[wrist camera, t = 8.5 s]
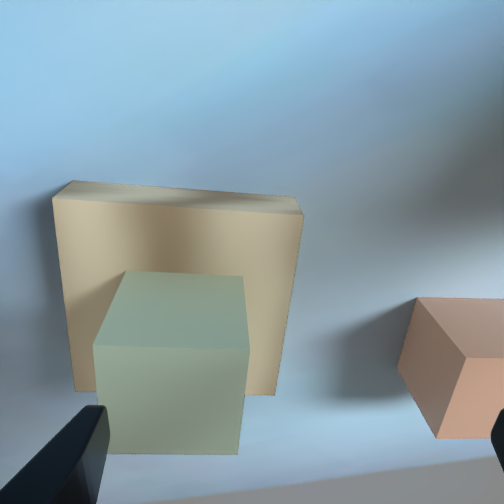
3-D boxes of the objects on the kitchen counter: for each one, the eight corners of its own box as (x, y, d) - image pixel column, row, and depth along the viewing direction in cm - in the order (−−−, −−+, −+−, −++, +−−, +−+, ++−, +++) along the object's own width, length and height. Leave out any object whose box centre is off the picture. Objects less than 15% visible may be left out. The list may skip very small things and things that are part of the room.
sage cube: (242, 276, 18) (250, 350, 13) (233, 364, 20) (237, 454, 15) (126, 270, 17) (92, 345, 13) (129, 361, 19) (102, 453, 15)
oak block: (292, 193, 19) (304, 215, 17) (268, 356, 24) (274, 395, 21) (76, 177, 18) (52, 198, 16) (92, 351, 23) (75, 391, 20)
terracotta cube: (502, 298, 22) (573, 358, 18) (475, 368, 24) (532, 437, 20) (416, 296, 22) (466, 357, 17) (396, 367, 24) (436, 438, 20)
